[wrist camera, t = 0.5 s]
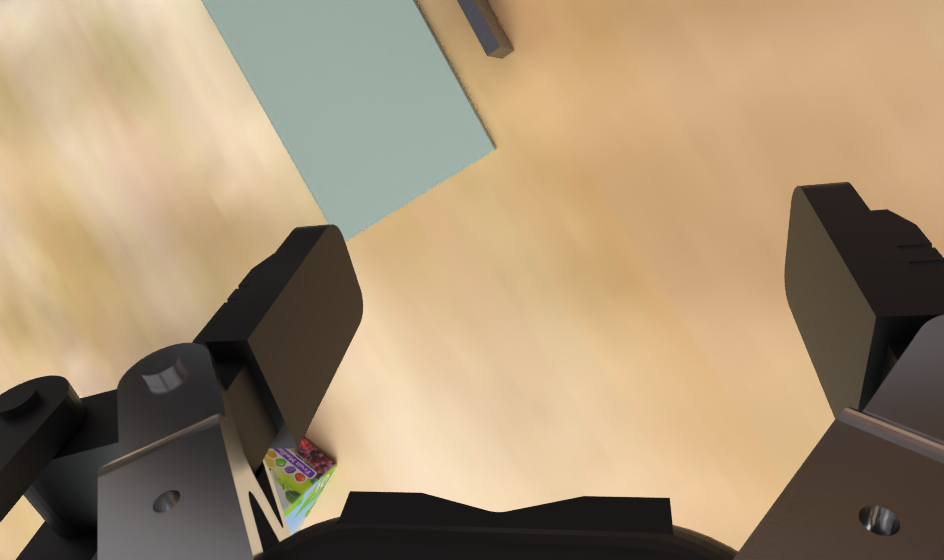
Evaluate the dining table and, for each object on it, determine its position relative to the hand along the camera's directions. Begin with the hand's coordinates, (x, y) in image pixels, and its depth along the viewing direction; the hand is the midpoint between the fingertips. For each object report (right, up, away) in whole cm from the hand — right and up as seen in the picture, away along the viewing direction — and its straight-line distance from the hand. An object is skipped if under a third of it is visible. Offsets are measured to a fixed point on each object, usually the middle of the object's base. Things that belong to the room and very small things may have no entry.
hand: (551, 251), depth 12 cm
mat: (-10, +13, +26) cm, 31 cm away
